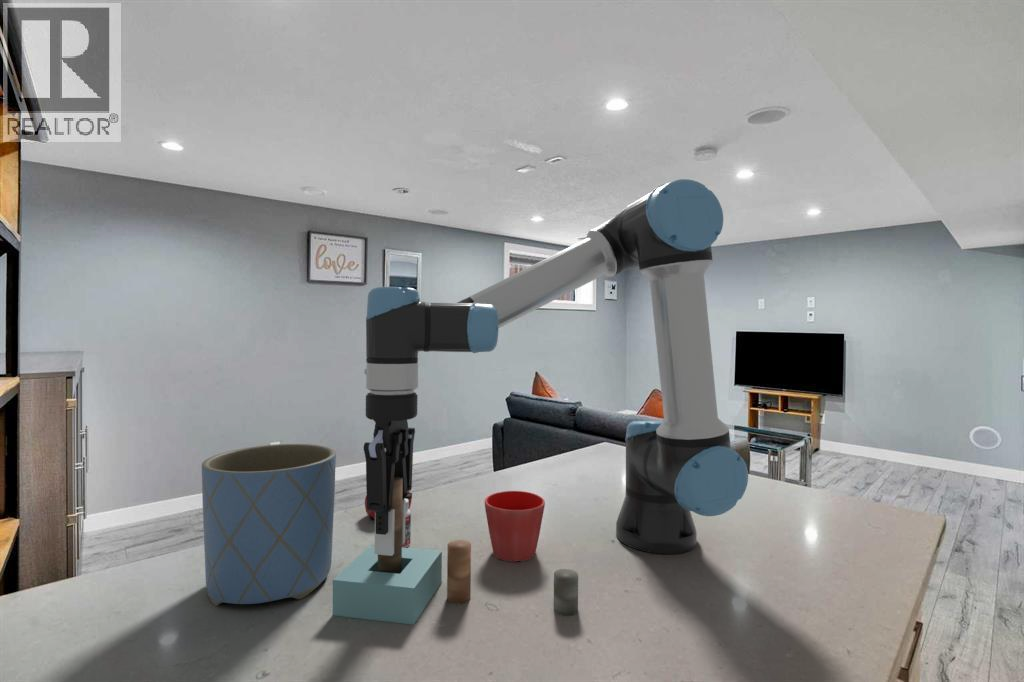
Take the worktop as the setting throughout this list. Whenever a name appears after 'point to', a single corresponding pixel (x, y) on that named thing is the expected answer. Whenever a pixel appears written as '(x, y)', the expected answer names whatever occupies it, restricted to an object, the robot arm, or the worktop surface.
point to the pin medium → (459, 571)
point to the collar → (387, 587)
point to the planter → (267, 522)
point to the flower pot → (514, 524)
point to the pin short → (566, 592)
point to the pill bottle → (407, 525)
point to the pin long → (395, 561)
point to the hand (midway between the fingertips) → (390, 547)
